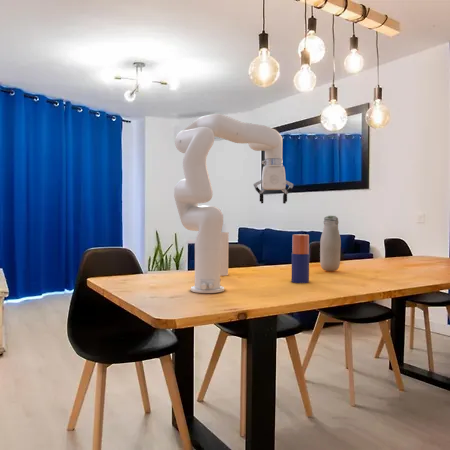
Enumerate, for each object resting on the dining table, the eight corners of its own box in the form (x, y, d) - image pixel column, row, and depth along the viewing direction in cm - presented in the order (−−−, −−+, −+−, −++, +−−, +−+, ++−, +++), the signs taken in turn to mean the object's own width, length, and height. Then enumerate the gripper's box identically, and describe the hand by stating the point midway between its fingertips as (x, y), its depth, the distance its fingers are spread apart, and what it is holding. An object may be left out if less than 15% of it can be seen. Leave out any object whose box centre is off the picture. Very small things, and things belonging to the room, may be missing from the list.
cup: (310, 254, 181) (310, 235, 181) (294, 254, 181) (294, 235, 181) (306, 252, 188) (306, 234, 188) (291, 252, 188) (291, 234, 188)
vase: (230, 275, 204) (230, 232, 203) (215, 275, 201) (215, 232, 201) (222, 272, 214) (222, 231, 214) (208, 272, 212) (208, 231, 212)
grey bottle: (319, 272, 216) (319, 215, 215) (321, 269, 226) (321, 215, 225) (339, 273, 213) (340, 215, 212) (340, 270, 223) (341, 215, 222)
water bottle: (310, 283, 181) (310, 244, 181) (293, 283, 181) (293, 244, 181) (306, 280, 189) (307, 243, 188) (290, 280, 188) (290, 243, 188)
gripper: (254, 162, 184) (254, 203, 185) (295, 162, 185) (294, 203, 185) (252, 164, 192) (252, 203, 192) (291, 164, 192) (291, 203, 193)
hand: (273, 203), depth 189 cm, fingers open, 9 cm apart
